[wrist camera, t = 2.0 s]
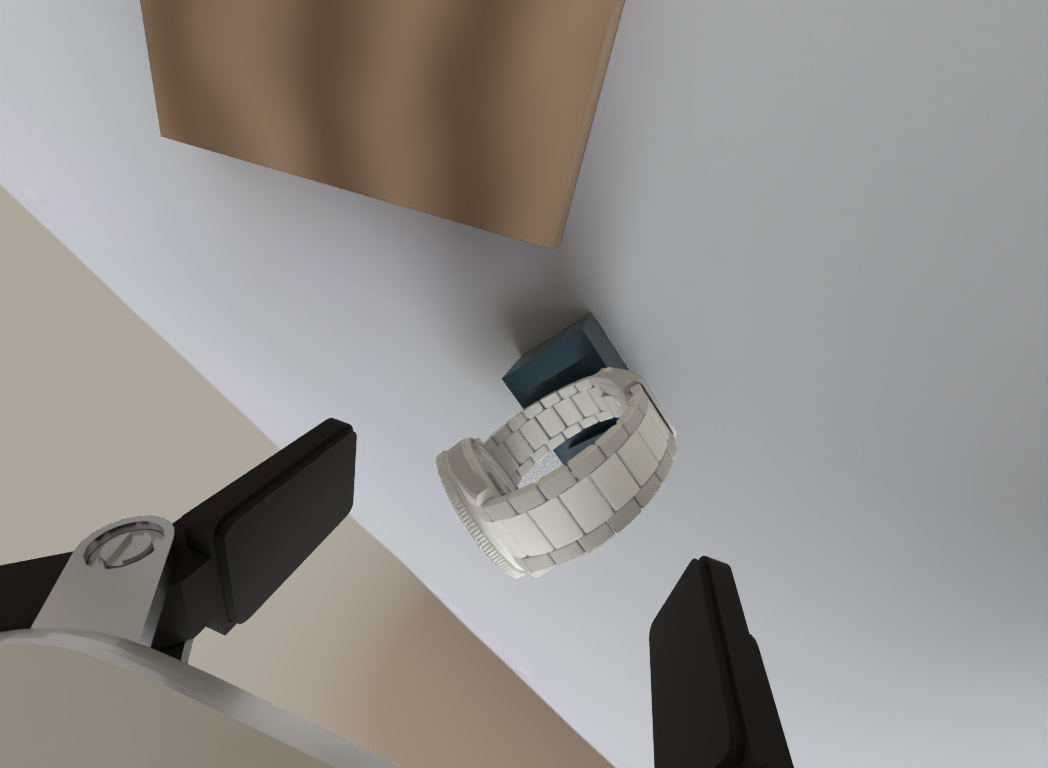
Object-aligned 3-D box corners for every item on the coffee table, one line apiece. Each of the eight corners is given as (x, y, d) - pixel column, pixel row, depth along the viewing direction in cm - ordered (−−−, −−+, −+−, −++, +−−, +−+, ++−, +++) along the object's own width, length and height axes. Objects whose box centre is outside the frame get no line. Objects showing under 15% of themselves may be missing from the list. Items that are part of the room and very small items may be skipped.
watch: (493, 374, 21) (365, 507, 11) (624, 291, 18) (601, 380, 8) (550, 454, 22) (477, 639, 12) (685, 390, 19) (733, 578, 9)
